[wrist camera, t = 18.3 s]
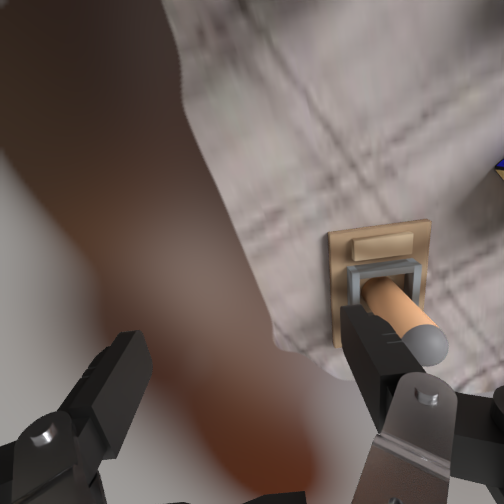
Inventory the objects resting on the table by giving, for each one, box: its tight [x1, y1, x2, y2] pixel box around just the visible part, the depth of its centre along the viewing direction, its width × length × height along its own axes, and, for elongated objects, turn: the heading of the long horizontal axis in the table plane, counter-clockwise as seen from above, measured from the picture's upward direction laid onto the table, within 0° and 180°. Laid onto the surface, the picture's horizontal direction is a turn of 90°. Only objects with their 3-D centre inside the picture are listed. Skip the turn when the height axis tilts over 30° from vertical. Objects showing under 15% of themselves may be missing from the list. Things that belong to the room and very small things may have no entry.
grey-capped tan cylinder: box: [362, 276, 449, 367], centre depth 37 cm, size 5×5×14 cm
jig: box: [328, 219, 432, 348], centre depth 43 cm, size 20×14×4 cm
